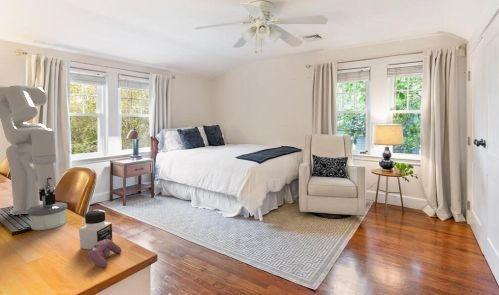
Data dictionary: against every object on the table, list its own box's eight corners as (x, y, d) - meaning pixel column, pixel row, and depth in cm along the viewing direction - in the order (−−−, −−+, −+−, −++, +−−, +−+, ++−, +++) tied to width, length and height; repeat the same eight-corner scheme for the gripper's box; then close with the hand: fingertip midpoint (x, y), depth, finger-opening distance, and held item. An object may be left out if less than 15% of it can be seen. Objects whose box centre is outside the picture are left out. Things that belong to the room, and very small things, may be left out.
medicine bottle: (98, 251, 90) (96, 215, 89) (79, 248, 91) (77, 214, 90) (113, 241, 97) (111, 208, 96) (95, 239, 98) (93, 207, 97)
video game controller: (111, 256, 90) (101, 238, 89) (123, 250, 89) (113, 232, 89) (93, 273, 80) (82, 253, 79) (107, 267, 79) (95, 246, 79)
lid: (23, 210, 110) (22, 196, 110) (61, 203, 120) (60, 189, 120) (32, 218, 102) (30, 203, 101) (72, 209, 112) (71, 195, 111)
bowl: (27, 224, 111) (26, 210, 110) (61, 217, 120) (60, 204, 119) (35, 232, 104) (34, 217, 103) (70, 223, 112) (69, 209, 112)
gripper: (27, 158, 112) (30, 200, 113) (38, 163, 100) (42, 209, 102) (49, 156, 117) (52, 196, 119) (62, 160, 106) (65, 204, 108)
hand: (47, 202), depth 111 cm, fingers open, 7 cm apart
